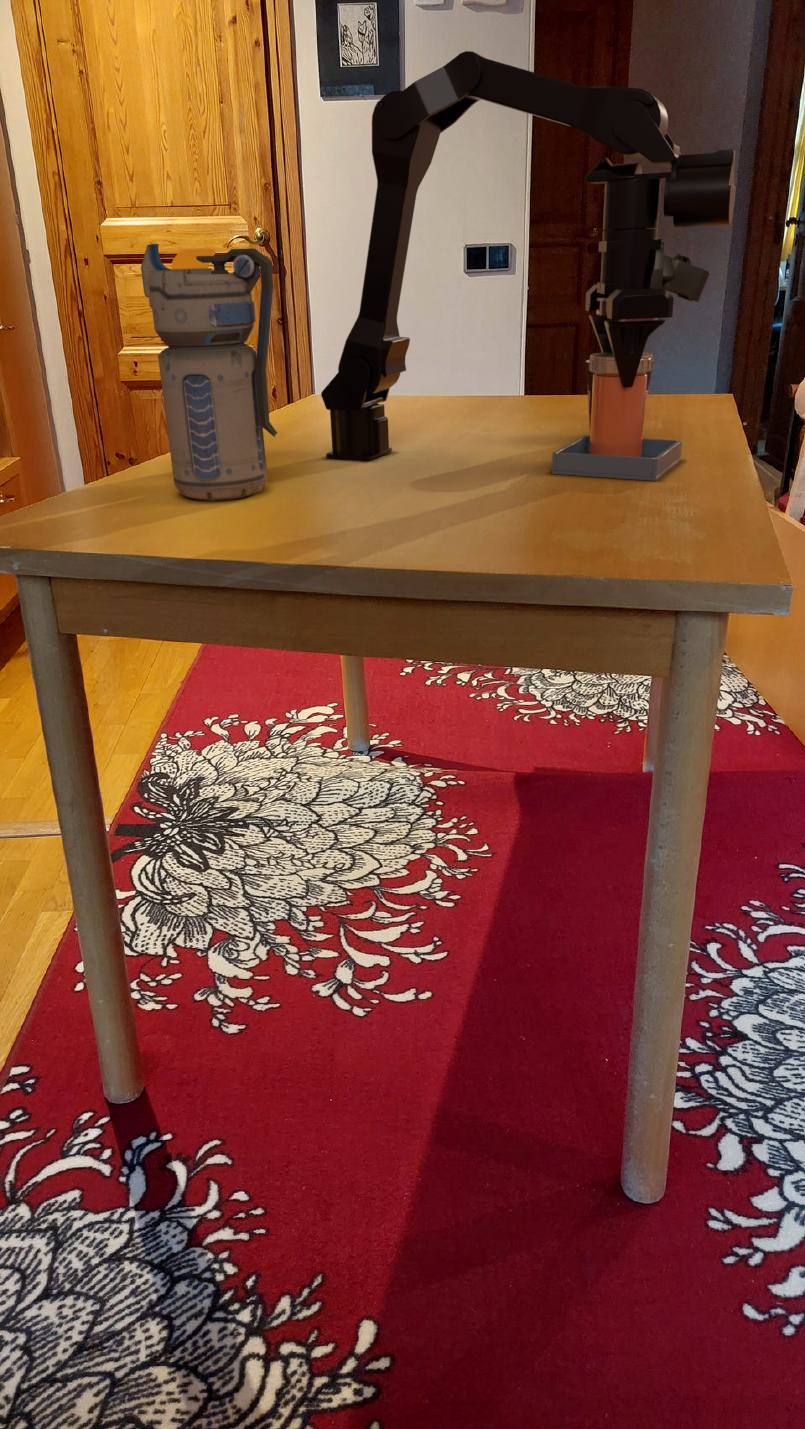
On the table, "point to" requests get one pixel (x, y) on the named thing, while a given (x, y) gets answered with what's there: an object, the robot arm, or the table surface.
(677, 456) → the tray
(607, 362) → the lid
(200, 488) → the fragmentation grenade prop
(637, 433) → the jar
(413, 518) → the table surface
